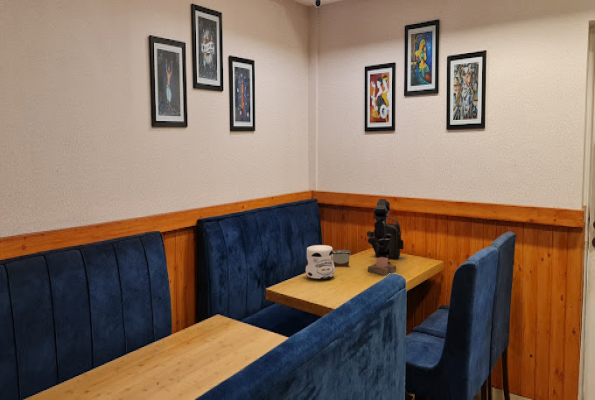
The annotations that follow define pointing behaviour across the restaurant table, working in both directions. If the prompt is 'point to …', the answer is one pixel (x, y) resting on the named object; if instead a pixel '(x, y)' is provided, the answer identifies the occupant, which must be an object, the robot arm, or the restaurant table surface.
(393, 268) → the walnut block
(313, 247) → the milk container
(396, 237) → the shoulder bag
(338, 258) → the food container
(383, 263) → the terracotta cube
